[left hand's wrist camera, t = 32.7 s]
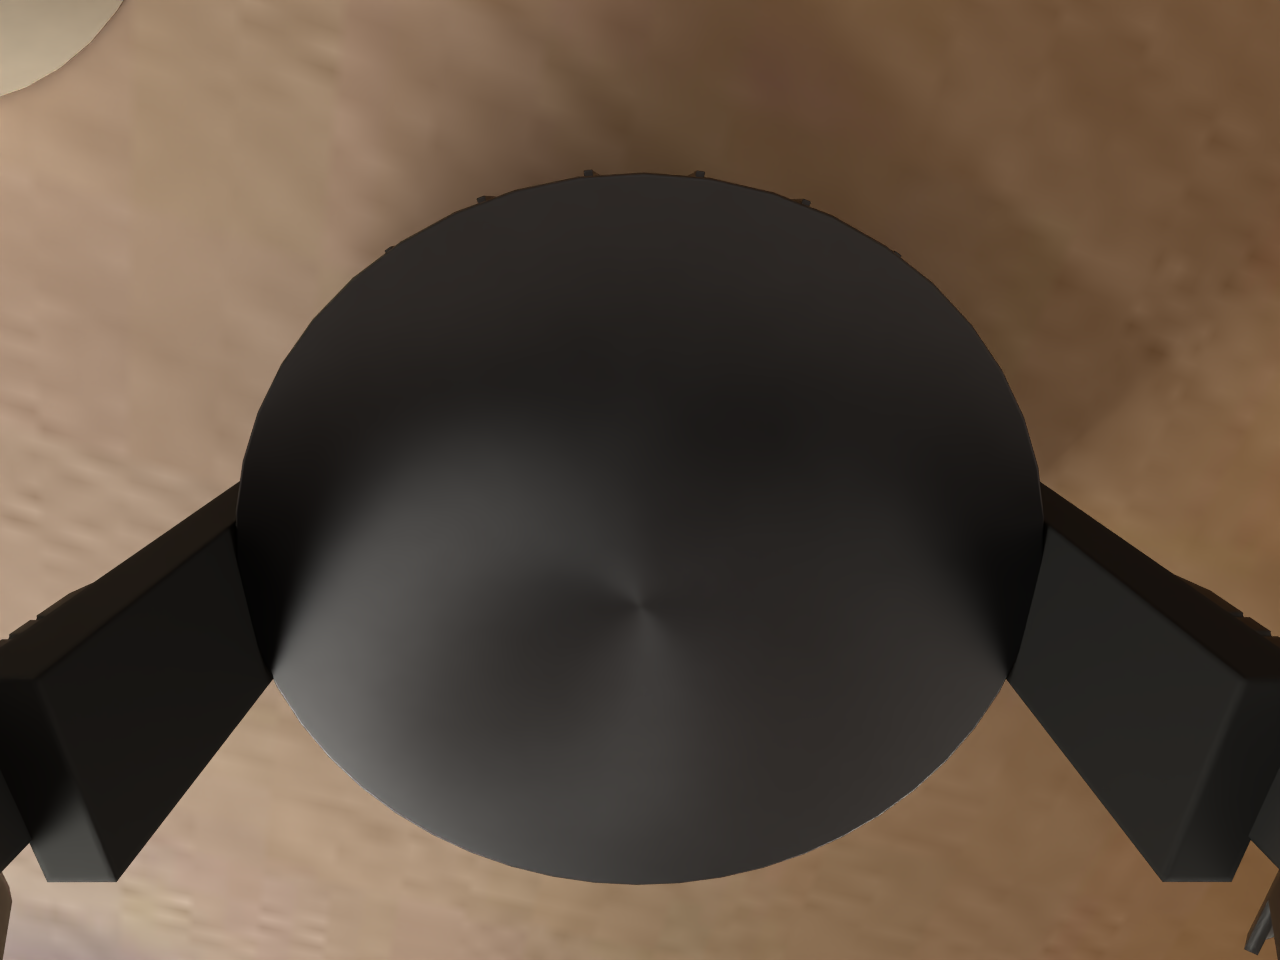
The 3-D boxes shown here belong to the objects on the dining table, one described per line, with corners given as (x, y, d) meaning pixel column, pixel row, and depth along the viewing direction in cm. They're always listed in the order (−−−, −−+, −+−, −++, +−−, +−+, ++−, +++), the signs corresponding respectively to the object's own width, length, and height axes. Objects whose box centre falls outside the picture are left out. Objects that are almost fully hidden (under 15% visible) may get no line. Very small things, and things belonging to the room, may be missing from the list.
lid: (217, 629, 13) (129, 720, 11) (486, -2, 9) (436, -69, 7) (731, 854, 15) (748, 968, 13) (1115, 419, 11) (1233, 473, 9)
